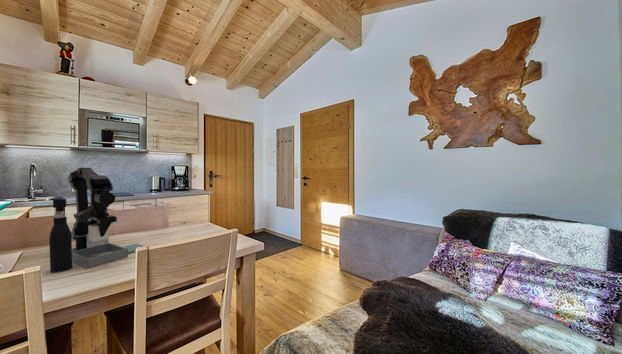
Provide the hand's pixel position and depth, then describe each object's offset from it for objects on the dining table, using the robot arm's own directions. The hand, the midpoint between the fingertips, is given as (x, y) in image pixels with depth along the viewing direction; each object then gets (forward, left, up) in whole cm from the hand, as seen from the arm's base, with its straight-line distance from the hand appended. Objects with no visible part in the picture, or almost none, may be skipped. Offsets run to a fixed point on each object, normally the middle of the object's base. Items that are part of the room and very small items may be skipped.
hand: (99, 235), depth 111 cm
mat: (-1, +14, -11) cm, 18 cm away
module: (0, 0, -2) cm, 2 cm away
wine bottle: (0, -13, -11) cm, 17 cm away
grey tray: (0, 0, -11) cm, 11 cm away
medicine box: (-17, +6, -11) cm, 21 cm away
